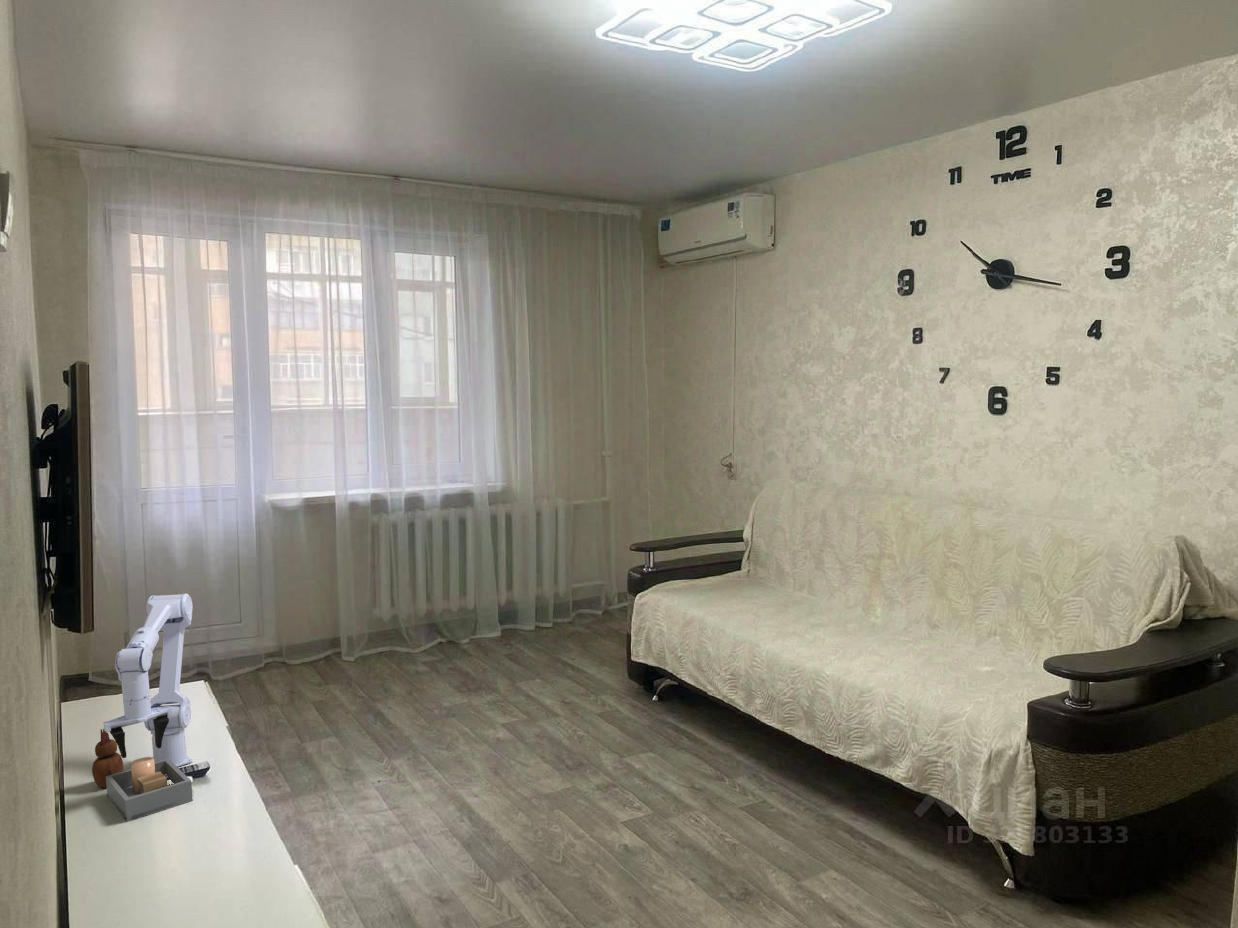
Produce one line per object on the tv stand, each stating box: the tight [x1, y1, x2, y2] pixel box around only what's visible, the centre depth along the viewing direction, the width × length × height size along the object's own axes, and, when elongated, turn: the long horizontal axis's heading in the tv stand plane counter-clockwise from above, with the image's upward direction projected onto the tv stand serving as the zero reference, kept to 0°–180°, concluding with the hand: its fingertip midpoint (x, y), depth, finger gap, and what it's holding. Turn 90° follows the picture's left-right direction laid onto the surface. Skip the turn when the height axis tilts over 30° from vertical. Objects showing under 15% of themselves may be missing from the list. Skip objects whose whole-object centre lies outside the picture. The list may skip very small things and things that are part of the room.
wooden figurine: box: [91, 728, 124, 789], centre depth 221 cm, size 7×6×15 cm
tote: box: [106, 759, 194, 823], centre depth 213 cm, size 18×14×5 cm
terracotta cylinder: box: [130, 756, 155, 794], centre depth 215 cm, size 5×5×7 cm
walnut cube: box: [137, 772, 167, 795], centre depth 211 cm, size 5×5×5 cm
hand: (141, 751), depth 215 cm, fingers open, 7 cm apart
